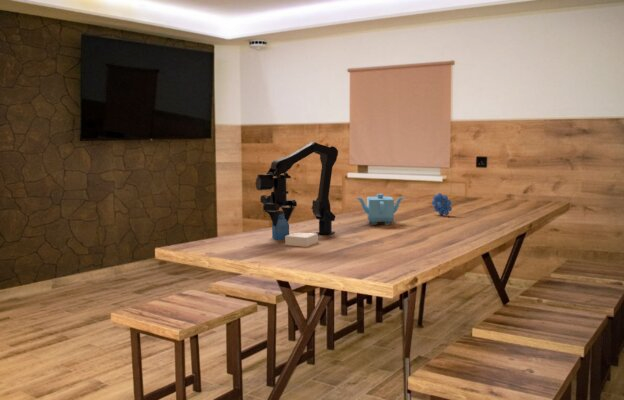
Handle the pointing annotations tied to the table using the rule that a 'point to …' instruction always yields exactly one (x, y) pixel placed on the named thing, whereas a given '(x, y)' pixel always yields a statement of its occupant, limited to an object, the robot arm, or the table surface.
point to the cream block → (301, 239)
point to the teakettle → (380, 208)
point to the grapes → (441, 204)
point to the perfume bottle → (280, 228)
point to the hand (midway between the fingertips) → (280, 224)
